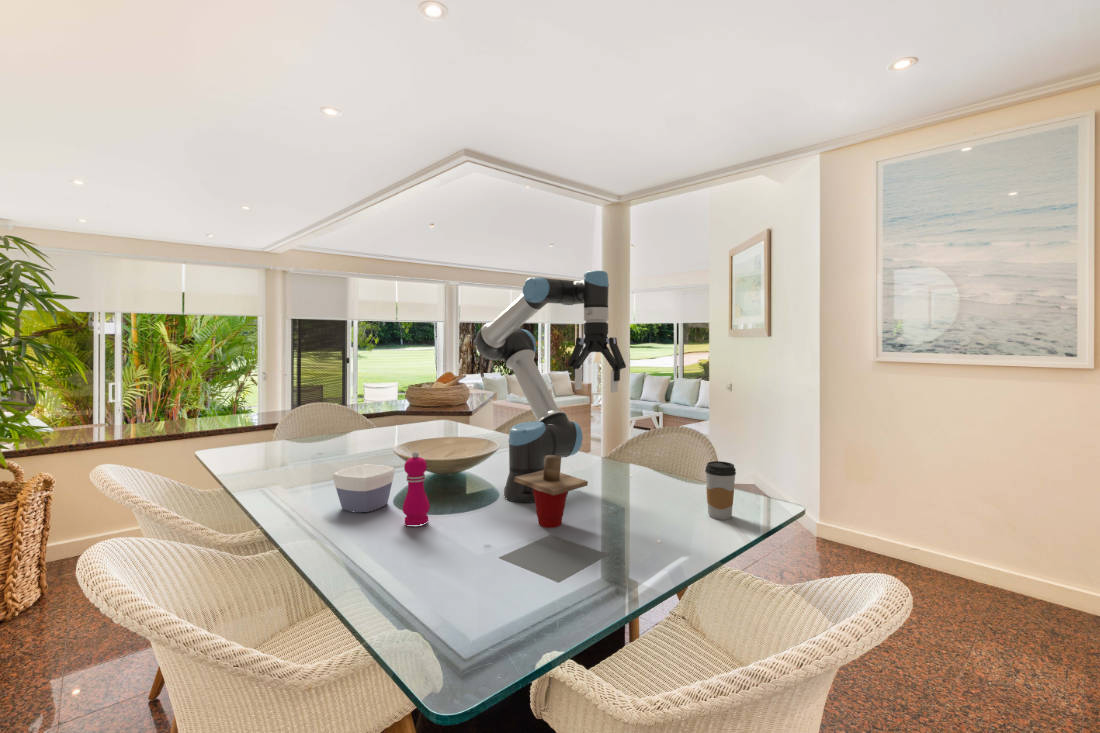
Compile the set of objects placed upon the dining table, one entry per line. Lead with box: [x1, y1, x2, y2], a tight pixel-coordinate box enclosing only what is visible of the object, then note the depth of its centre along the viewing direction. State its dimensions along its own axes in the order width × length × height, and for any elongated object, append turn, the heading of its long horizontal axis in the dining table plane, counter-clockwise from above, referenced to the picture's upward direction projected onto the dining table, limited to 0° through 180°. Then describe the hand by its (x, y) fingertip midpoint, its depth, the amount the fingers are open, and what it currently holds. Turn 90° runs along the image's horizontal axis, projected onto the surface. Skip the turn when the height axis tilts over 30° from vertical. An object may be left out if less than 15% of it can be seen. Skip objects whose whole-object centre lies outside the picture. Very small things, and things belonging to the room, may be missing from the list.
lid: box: [514, 455, 589, 496], centre depth 136 cm, size 14×14×7 cm
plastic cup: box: [532, 488, 569, 529], centre depth 136 cm, size 11×11×12 cm
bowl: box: [332, 464, 396, 513], centre depth 154 cm, size 15×15×11 cm
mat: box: [498, 534, 609, 583], centre depth 116 cm, size 18×18×1 cm
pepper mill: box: [402, 451, 431, 526], centre depth 139 cm, size 7×7×20 cm
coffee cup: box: [704, 460, 737, 521], centre depth 144 cm, size 8×8×15 cm
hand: (595, 390), depth 157 cm, fingers open, 13 cm apart
